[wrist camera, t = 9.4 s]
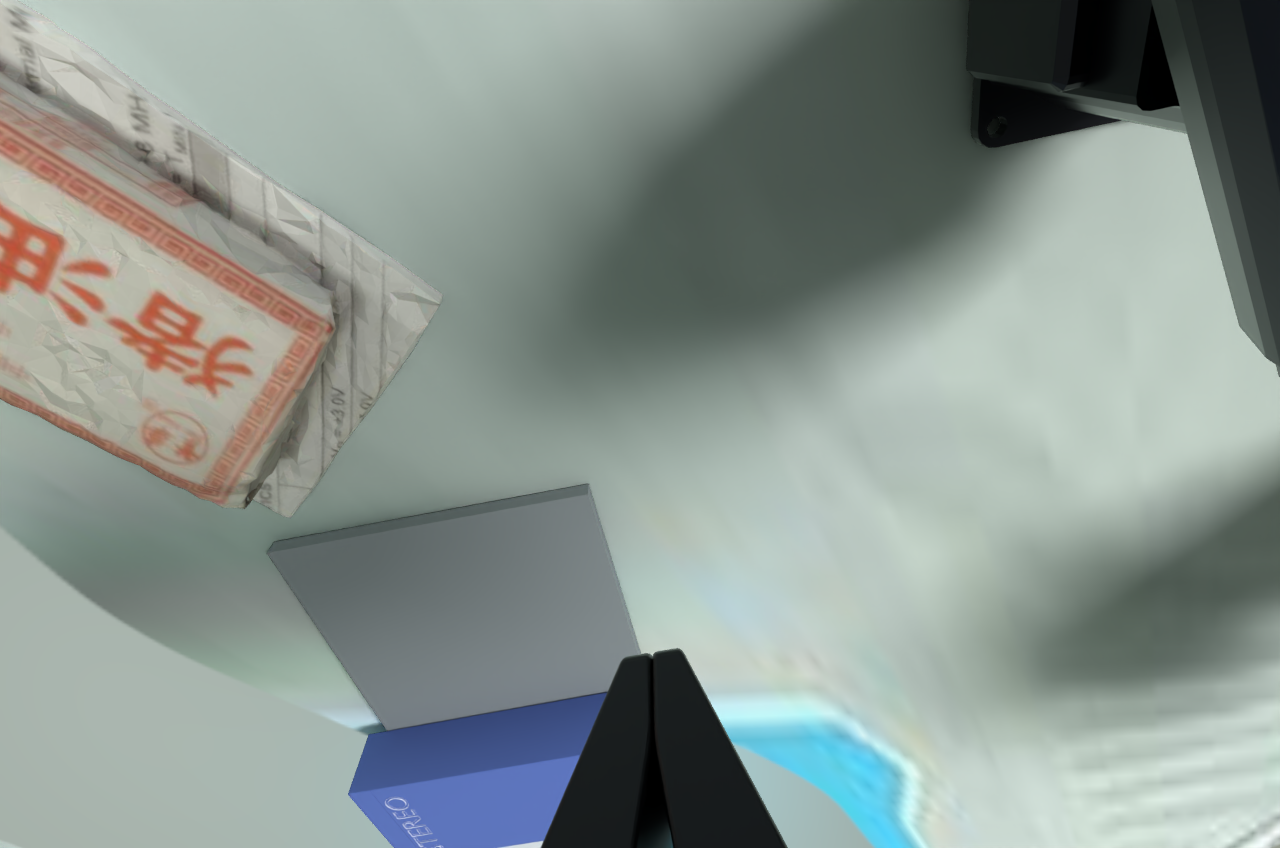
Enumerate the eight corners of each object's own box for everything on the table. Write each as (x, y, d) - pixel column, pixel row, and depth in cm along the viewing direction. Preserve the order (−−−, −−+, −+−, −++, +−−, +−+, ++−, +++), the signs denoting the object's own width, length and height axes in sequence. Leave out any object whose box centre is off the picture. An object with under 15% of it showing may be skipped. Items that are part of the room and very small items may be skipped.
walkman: (619, 688, 29) (361, 734, 30) (619, 749, 26) (338, 796, 28) (659, 787, 33) (430, 823, 34) (662, 847, 30) (416, 884, 32)
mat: (588, 483, 24) (588, 494, 23) (669, 744, 32) (669, 756, 31) (273, 542, 25) (266, 553, 24) (431, 780, 33) (428, 792, 32)
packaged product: (-609, 205, 14) (-673, -331, 10) (-325, 161, 18) (-290, -228, 14) (246, 592, 20) (413, 359, 16) (310, 493, 24) (455, 289, 20)
